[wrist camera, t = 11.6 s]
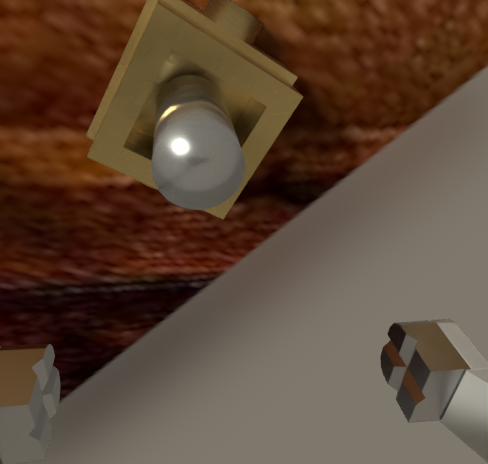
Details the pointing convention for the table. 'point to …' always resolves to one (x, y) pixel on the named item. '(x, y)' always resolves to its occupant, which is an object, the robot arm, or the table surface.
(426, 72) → the table surface
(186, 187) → the silver metal cylinder
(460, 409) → the robot arm
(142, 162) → the valve body
